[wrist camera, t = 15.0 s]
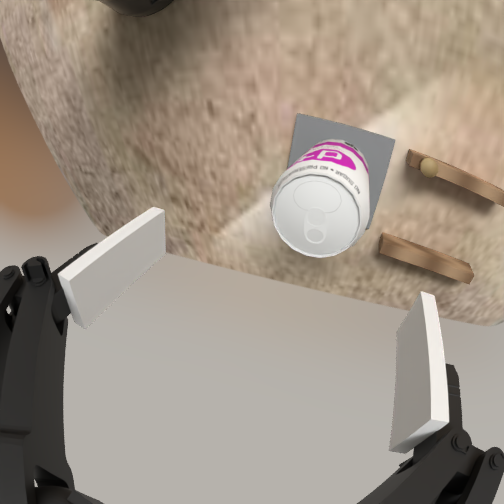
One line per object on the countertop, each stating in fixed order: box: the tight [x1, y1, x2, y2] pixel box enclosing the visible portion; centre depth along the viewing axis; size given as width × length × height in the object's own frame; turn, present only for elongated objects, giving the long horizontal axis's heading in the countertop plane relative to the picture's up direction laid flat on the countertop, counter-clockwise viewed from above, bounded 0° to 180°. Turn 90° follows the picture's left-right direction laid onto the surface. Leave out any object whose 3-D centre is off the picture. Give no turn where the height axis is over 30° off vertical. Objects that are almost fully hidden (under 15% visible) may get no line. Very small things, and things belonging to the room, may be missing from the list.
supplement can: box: [270, 139, 370, 258], centre depth 28 cm, size 8×8×15 cm
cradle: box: [379, 149, 504, 284], centre depth 30 cm, size 14×13×4 cm
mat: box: [287, 113, 395, 229], centre depth 34 cm, size 12×12×1 cm
